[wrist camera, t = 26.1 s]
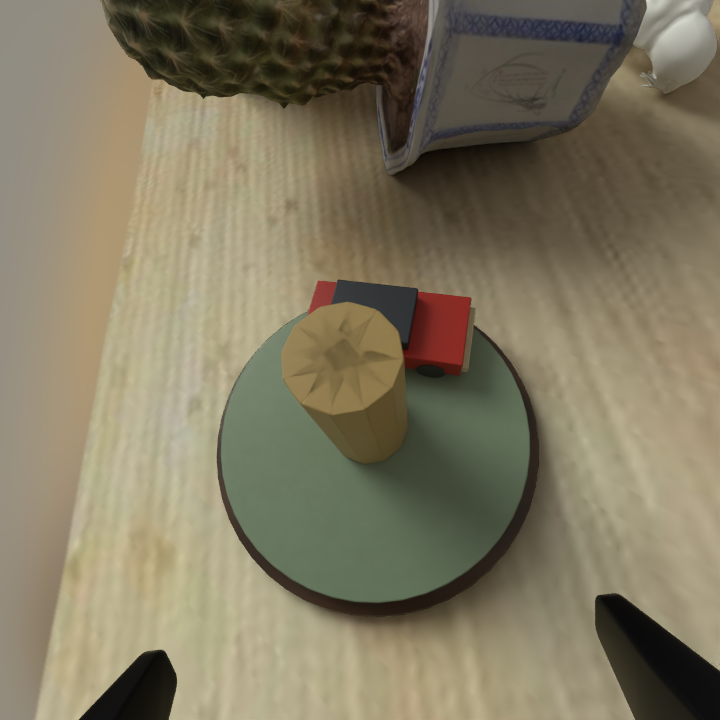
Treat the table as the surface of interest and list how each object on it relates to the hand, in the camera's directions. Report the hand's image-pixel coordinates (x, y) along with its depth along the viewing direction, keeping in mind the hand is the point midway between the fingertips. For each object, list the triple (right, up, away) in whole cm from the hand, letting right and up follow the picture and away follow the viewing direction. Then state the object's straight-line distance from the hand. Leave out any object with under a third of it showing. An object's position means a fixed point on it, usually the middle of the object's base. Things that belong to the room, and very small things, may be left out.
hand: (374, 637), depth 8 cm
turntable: (0, +2, +14) cm, 15 cm away
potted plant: (+2, +24, +26) cm, 35 cm away
